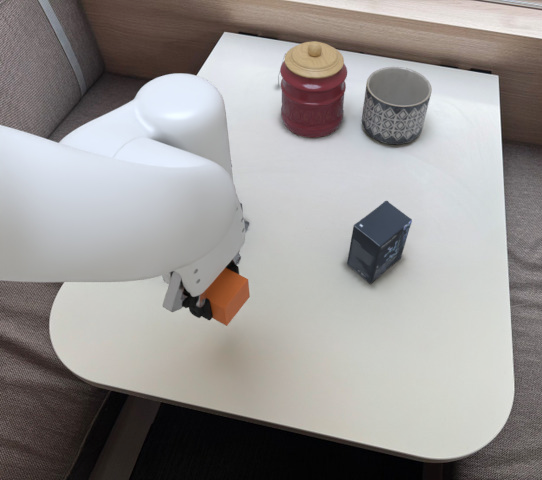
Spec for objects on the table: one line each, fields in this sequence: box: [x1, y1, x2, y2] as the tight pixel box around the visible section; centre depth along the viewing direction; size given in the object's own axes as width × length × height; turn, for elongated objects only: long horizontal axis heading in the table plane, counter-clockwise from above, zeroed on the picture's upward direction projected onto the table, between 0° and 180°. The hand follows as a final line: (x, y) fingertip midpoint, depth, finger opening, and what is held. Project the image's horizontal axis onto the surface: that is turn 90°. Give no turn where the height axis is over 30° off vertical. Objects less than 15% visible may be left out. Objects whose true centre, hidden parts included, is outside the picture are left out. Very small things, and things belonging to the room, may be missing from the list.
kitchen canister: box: [279, 40, 348, 139], centre depth 103 cm, size 13×13×18 cm
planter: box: [361, 66, 433, 145], centre depth 105 cm, size 13×13×10 cm
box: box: [346, 200, 413, 284], centre depth 84 cm, size 8×6×11 cm
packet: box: [206, 268, 251, 327], centre depth 64 cm, size 5×7×4 cm
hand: (215, 296), depth 65 cm, fingers closed on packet, 5 cm apart
